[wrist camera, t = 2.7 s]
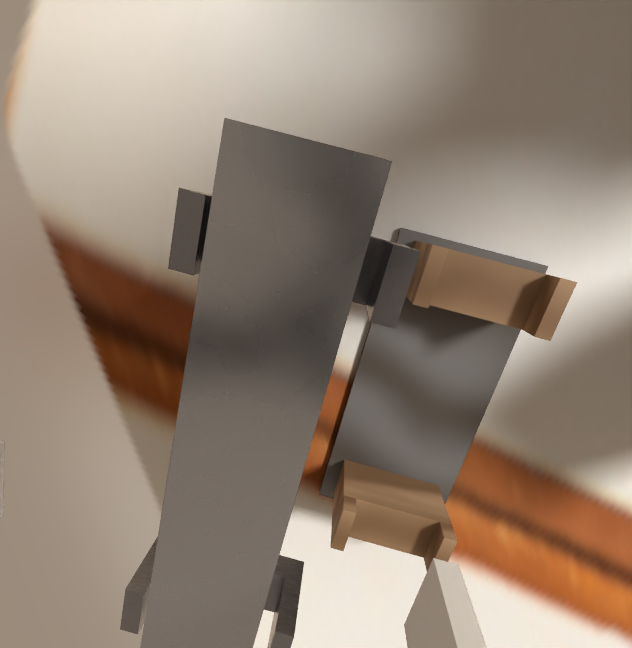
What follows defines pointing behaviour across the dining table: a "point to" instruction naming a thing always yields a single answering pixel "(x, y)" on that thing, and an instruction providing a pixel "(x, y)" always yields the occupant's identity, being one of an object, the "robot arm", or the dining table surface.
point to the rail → (255, 374)
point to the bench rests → (431, 391)
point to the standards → (383, 309)
